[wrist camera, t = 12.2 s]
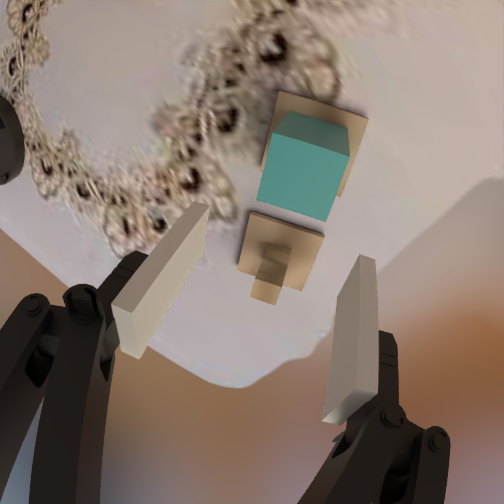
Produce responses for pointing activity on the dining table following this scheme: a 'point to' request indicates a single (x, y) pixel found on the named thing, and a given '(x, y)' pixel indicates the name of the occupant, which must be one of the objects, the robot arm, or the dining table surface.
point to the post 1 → (322, 112)
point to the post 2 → (277, 255)
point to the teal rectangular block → (305, 165)
